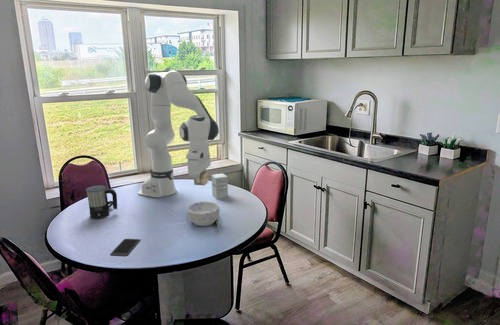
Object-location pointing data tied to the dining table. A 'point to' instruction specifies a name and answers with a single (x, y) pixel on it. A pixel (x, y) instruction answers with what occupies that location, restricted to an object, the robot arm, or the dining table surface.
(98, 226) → the dining table surface
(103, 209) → the milk frother
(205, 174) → the maple block
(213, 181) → the supplement box
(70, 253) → the dining table surface
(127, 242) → the cell phone
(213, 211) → the paper bowls
